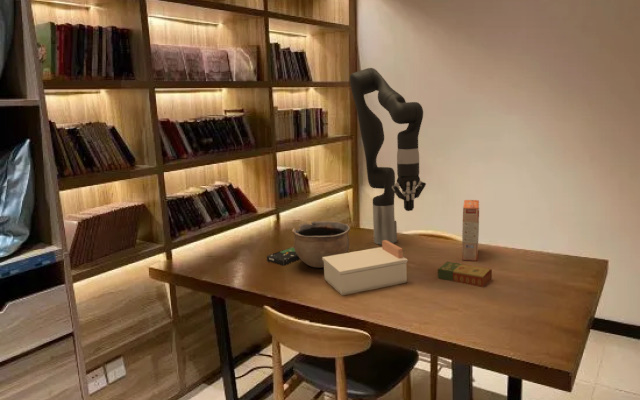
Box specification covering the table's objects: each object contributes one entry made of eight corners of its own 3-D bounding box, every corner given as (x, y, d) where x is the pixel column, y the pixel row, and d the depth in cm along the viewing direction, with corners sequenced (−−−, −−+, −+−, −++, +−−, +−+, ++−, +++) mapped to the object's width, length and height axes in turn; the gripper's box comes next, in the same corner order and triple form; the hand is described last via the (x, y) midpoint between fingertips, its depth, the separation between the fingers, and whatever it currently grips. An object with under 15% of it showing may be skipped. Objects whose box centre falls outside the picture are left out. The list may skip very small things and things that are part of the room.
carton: (483, 288, 154) (483, 276, 153) (437, 279, 164) (437, 267, 163) (491, 279, 160) (492, 268, 159) (446, 271, 170) (446, 260, 169)
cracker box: (478, 261, 178) (479, 207, 173) (461, 260, 180) (462, 207, 175) (478, 250, 191) (479, 199, 186) (463, 249, 192) (463, 199, 188)
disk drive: (284, 267, 185) (310, 256, 195) (283, 260, 184) (309, 250, 195) (266, 262, 192) (292, 252, 202) (266, 255, 191) (292, 245, 202)
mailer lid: (385, 249, 175) (384, 238, 174) (407, 262, 160) (407, 250, 159) (322, 259, 167) (321, 248, 166) (339, 274, 152) (339, 262, 151)
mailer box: (384, 268, 176) (384, 250, 175) (406, 282, 161) (406, 263, 160) (324, 279, 168) (323, 260, 167) (341, 295, 154) (340, 275, 152)
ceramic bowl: (317, 252, 199) (315, 217, 196) (361, 259, 186) (360, 223, 183) (283, 269, 181) (280, 231, 178) (330, 278, 169) (328, 238, 166)
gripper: (419, 158, 168) (419, 206, 172) (385, 162, 164) (386, 210, 167) (430, 160, 161) (431, 210, 165) (396, 164, 157) (397, 215, 160)
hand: (408, 210), depth 166 cm, fingers closed
